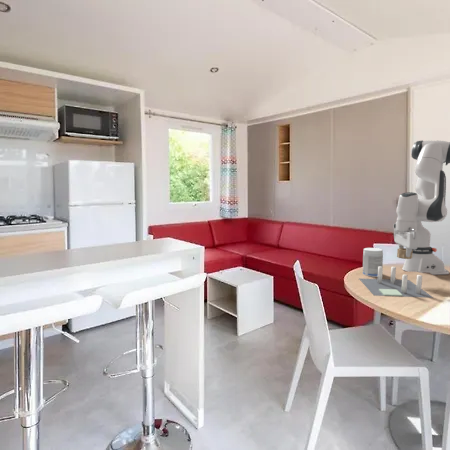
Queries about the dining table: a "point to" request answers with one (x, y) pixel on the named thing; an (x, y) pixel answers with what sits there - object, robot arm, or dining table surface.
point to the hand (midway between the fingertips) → (404, 254)
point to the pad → (390, 292)
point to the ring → (403, 253)
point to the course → (395, 285)
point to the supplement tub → (372, 261)
